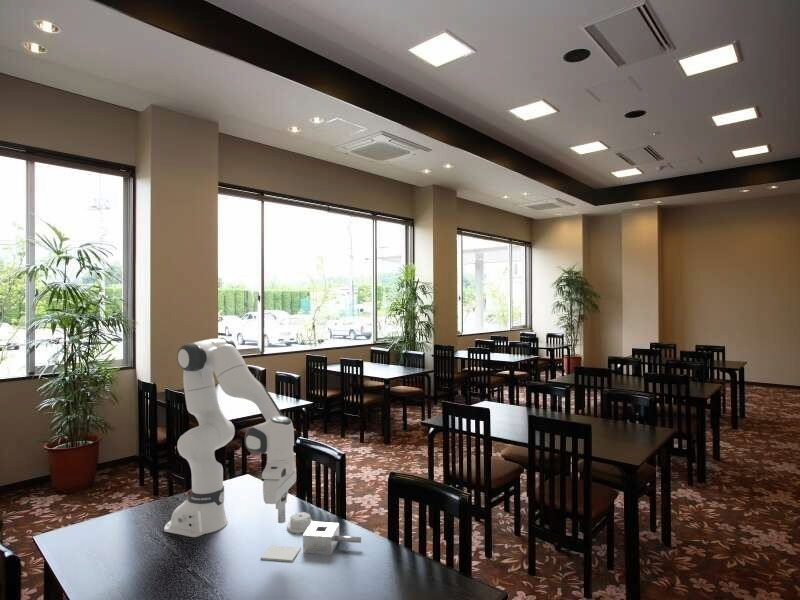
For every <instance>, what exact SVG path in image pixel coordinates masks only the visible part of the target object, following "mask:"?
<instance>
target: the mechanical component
mask: <svg viewBox="0 0 800 600" xmlns="http://www.w3.org/2000/svg"><path fill="white" fill-rule="evenodd" d="M312 521H314V520H313V519H312V518H311V514H310V513H307V512H304V511H302V512H301V511H300V512H295V513H294V514H292V515H291V516H290V521H288V523H287V524H286V529H287V531H288V532H289V533H294V534H302V533H303V534H304V533H305V531H306V530H307V529H308V527H309V526H310V524H311V523H312Z"/></svg>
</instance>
